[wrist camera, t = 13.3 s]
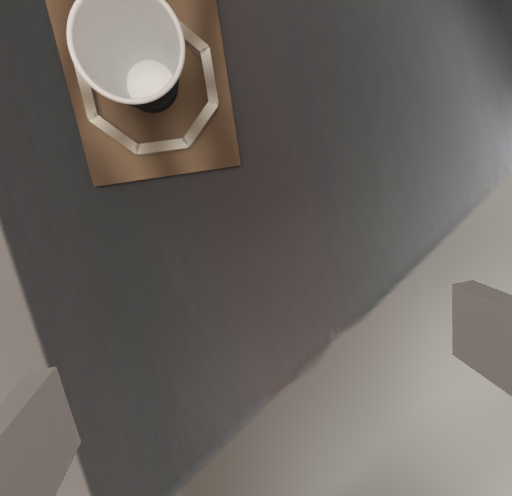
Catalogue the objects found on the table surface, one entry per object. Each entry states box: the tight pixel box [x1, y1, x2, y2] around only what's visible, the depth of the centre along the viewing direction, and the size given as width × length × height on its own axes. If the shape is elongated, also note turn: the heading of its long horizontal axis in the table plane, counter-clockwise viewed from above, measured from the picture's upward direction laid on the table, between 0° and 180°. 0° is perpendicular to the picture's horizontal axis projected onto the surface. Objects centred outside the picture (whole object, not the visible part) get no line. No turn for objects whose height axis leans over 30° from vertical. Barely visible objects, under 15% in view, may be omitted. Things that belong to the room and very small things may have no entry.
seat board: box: [45, 0, 241, 187], centre depth 33 cm, size 16×18×3 cm
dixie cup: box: [66, 0, 185, 113], centre depth 27 cm, size 8×8×11 cm
